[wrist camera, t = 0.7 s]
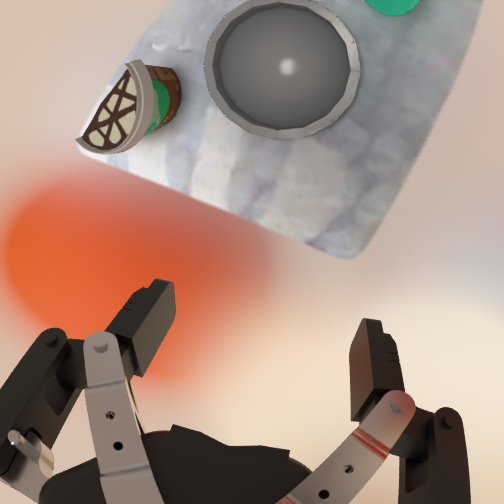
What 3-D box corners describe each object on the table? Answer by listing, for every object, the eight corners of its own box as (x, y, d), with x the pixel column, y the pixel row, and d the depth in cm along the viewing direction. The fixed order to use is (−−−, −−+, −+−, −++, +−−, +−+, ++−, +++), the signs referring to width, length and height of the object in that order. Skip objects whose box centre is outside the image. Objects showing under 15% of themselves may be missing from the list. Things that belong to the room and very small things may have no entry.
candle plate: (203, 19, 27) (192, 16, 25) (343, -7, 22) (342, -14, 20) (229, 142, 35) (220, 147, 33) (367, 129, 30) (369, 133, 27)
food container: (150, 155, 39) (102, 180, 31) (124, 124, 37) (73, 142, 29) (210, 93, 32) (164, 100, 24) (179, 59, 31) (127, 59, 23)
